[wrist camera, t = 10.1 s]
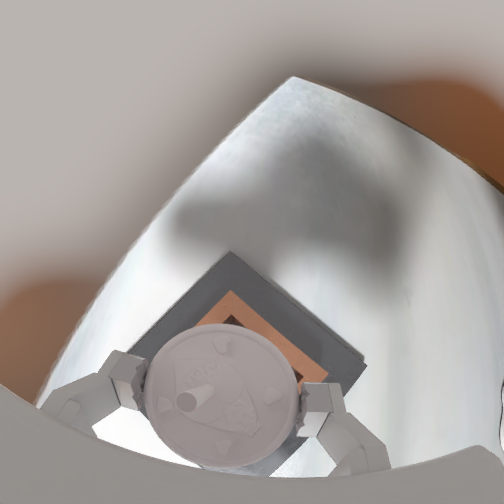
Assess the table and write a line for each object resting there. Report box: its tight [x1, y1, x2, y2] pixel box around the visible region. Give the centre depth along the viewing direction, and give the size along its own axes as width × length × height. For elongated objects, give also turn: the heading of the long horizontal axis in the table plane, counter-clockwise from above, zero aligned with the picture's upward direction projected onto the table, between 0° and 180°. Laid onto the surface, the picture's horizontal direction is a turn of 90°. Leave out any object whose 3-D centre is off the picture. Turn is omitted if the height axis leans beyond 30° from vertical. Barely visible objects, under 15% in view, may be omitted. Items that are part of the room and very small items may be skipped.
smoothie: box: [144, 324, 299, 469], centre depth 12 cm, size 6×6×14 cm
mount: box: [128, 251, 367, 477], centre depth 22 cm, size 18×18×4 cm
